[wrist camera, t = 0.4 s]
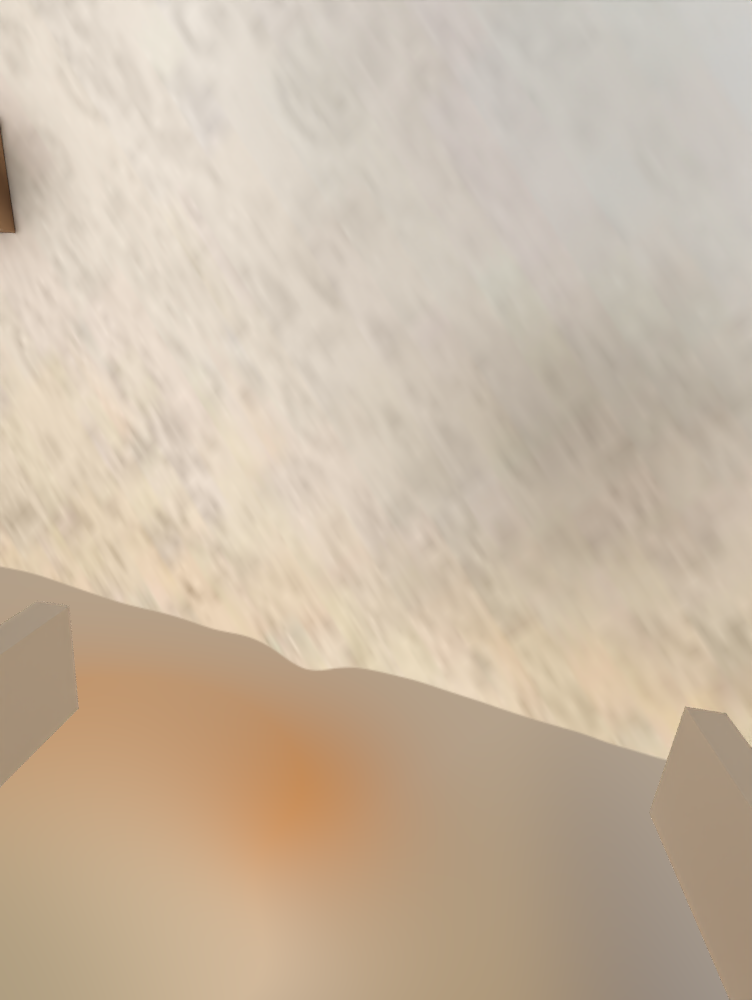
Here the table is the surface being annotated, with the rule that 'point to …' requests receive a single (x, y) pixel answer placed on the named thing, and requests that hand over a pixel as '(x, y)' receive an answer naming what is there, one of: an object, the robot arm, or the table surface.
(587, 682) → the table surface
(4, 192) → the rack
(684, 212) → the table surface
